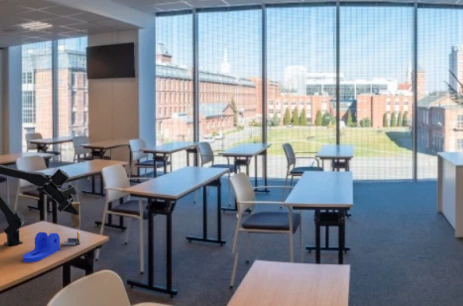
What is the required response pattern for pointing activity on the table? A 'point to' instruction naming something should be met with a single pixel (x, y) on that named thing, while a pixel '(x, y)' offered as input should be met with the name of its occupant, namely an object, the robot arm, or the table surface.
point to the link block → (75, 218)
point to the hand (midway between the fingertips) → (78, 213)
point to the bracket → (43, 247)
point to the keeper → (72, 241)
